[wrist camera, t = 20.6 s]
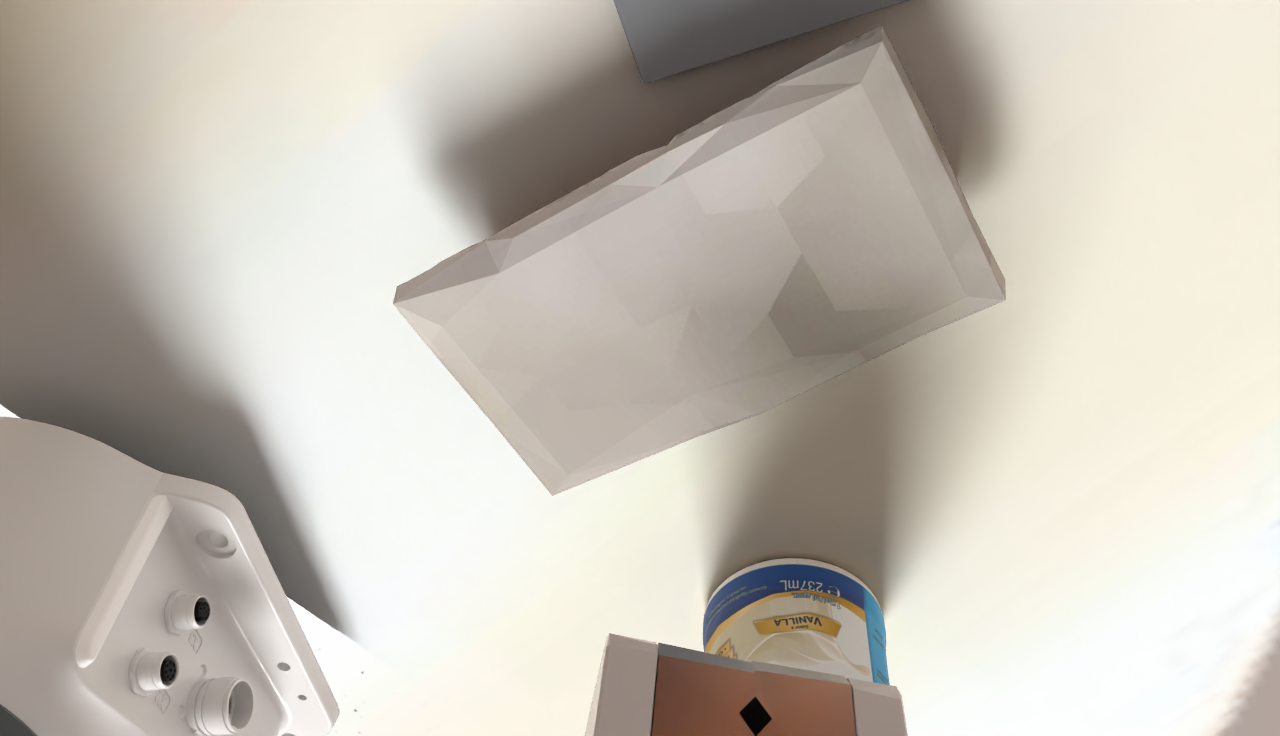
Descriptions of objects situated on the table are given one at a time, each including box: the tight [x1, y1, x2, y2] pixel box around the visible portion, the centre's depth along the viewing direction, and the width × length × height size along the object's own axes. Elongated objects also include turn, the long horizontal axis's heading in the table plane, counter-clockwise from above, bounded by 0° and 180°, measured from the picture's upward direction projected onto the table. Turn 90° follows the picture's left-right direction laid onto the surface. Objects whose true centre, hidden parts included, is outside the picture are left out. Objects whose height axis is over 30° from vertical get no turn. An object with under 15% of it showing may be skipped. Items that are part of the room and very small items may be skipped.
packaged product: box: [393, 25, 1006, 496], centre depth 37 cm, size 18×5×10 cm
